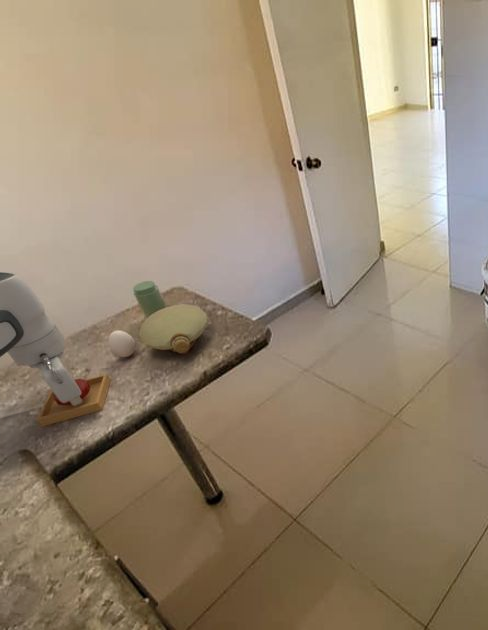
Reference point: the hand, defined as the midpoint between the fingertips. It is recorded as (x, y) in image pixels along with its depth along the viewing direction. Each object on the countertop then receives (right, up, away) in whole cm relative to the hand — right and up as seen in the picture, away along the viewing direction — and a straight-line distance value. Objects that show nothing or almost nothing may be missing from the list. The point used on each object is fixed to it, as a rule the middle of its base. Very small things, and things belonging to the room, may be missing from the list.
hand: (73, 394), depth 95 cm
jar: (+2, +17, +28) cm, 33 cm away
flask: (+15, +9, +16) cm, 24 cm away
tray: (0, -2, +1) cm, 2 cm away
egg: (+2, +7, +14) cm, 16 cm away
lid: (0, +1, -1) cm, 1 cm away
